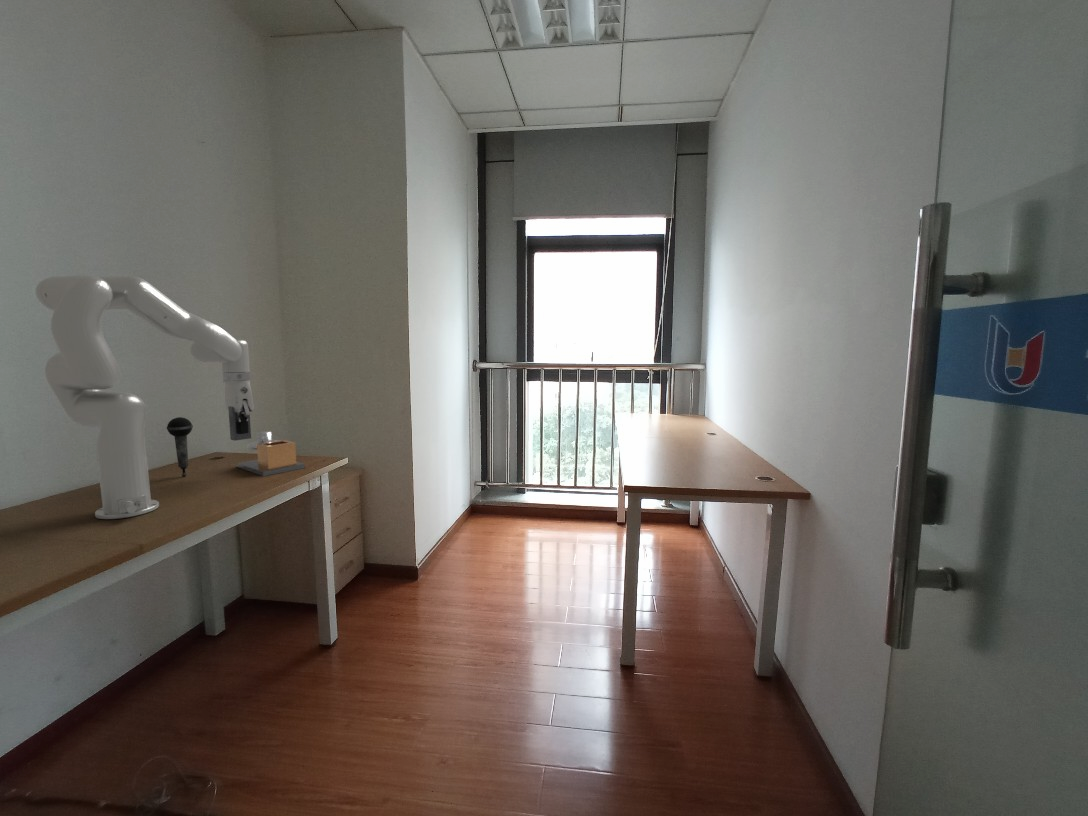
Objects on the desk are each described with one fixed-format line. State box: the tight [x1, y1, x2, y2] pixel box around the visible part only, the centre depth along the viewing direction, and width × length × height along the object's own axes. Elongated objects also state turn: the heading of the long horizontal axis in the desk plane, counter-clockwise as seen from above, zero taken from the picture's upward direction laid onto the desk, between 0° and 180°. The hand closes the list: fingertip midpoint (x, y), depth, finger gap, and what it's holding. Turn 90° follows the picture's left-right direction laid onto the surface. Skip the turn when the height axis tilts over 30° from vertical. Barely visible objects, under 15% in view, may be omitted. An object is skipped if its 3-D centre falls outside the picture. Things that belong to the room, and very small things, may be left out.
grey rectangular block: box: [227, 406, 252, 441], centre depth 155 cm, size 3×5×11 cm, turn 145°
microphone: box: [166, 416, 194, 478], centre depth 155 cm, size 7×7×20 cm
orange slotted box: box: [236, 430, 306, 477], centre depth 168 cm, size 20×14×12 cm
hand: (240, 432), depth 155 cm, fingers closed on grey rectangular block, 3 cm apart
